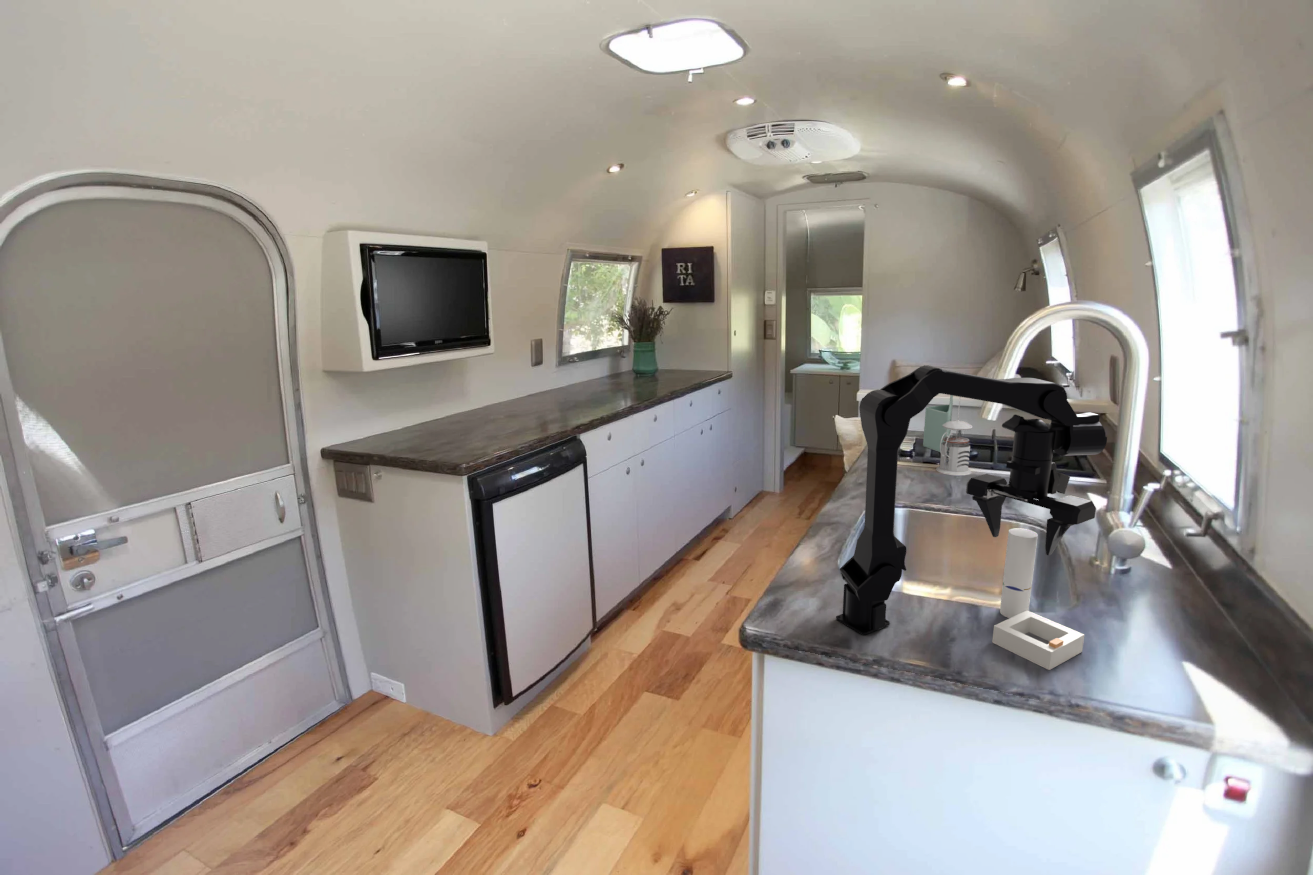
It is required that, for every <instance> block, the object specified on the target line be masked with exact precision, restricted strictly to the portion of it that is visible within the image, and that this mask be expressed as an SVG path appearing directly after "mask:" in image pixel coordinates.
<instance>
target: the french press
mask: <svg viewBox="0 0 1313 875" xmlns="http://www.w3.org/2000/svg"><path fill="white" fill-rule="evenodd" d="M960 408H961V397H959V400H958V410H957V419H956V420H951V421H949V422H947V423H945V424H943V427H944V428H946V429H950V430H953V431H956V434H955V436H953V433H951V432H950V435H949V436H947V432H945V433H944V435H945V434H946V436H947V437H944V438H943V436H944V435H943V436H942V439H943V440H944V441H946V442H942V446H941V442H940V452H939V453H940V459H939V460H940V461H939V466H937V467H936V468H935V470H936V471H937V472H938V473H941V474H944V475H950V476H968V475H971V474H972V470H971V469H970V468H969V465H970V462H968V461H970V458H969V457H970V452H971V444H970V439H969V438H967V437H963V436H958V431H968V430H970V431H971V429H973V425H972V424H970V423H969V422H967V421H963V420H959V418H960V417H959V416H960ZM942 439H941V441H942ZM947 447H948V450H947ZM941 448H942V449H941ZM941 450H942V451H941Z"/></svg>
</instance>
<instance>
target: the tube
mask: <svg viewBox="0 0 1313 875" xmlns="http://www.w3.org/2000/svg"><path fill="white" fill-rule="evenodd" d="M1038 537H1039V536H1038V533H1037V532H1036V531H1034V530H1031V529H1028V528H1023V527H1022V528H1020V527H1014V528H1010V529H1008V534H1007V543H1006V552H1005V562H1004V569H1003V570H1004V571H1003V578H1002V581H1003V582H1002V589H1001V590H1002V591H1001V597H1000V605H999V606H1000V608H999V612H1000V615H1002V616H1003V617H1005V618H1007V619H1009V618H1012V617H1014V616H1016V615H1018V614H1020V613H1022V612H1025V611H1027V610H1028V611H1030V601H1031V594H1032V586H1033V579H1034V572H1035V571H1034V569H1035V560H1036V553H1037V547H1038V546H1037V544H1038Z"/></svg>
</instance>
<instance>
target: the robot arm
mask: <svg viewBox="0 0 1313 875" xmlns="http://www.w3.org/2000/svg"><path fill="white" fill-rule="evenodd" d="M939 394H940V395H941V394H942V395H947V396H950V395H953V397H959V398H965V399H970V400H978V401H983V402H989V403H995V404H1000V405H1003V406H1005V407H1008V408H1011V409H1013V410H1017V411H1019V412H1021V413H1025V414H1028V415H1031V416H1033V417H1037V418H1024V417H1023V416H1021V415H1019V414H1013V415H1012V417H1011V418H1009V419H1008V420H1006V421H1005V422H1003V423H1002V425H1001V427H1002V428H1003V429H1006V430H1008V431H1011V432H1014V436H1013V445H1012V453H1011V454H1012V455H1011V460H1008V461H1006V465H1005V466H1006V467H1005V468H1007V469H1010V471H1009V480H1008V482H1007V480H1006V478H1004V477H1001V476H996V475H993V474H989V473H984V474H981V475H977V476H974V477H971V478H969V479H968V480H967V482H966V484H965V486H966V487H965V494H967V495H970V496H971V499H972V501H975V502H976V504H977V505H978V507H979V509H980V511H981V513H982V514H983V517H984V519H985V521H986V524H987V526H988V529H989V531H990V534H991V535H992V537H993V538H997V537H999V534H1000V530H1001V523H1002V512H1003V511H1002V510H1003V504H1004V502H1005V501H1006V498H1009V499H1012V500H1016V501H1020V502H1023V503H1026V504H1030V505H1033V506H1037V507H1040V508H1044V509H1048V510H1049V514H1050V516H1051V517H1050V518H1048V519H1046V531H1045V546H1044V547H1045V555H1046V556H1052V554H1053V553H1054V551H1055V550H1056V548H1057V547H1058V545H1059V543H1060V542H1061V540H1062V539H1063V537H1064V535H1065V534H1066V533H1067V531H1068V530H1069V529H1070V527H1072V526H1075V525H1080V524H1082V523H1085V522H1087V521H1090V520H1092V519H1095V517H1096V512H1097V508H1096V506H1095V504H1094V502H1093V500H1090V499H1086V498H1083V497H1082V498H1081V497H1078V496H1074V495H1071V494H1070V495H1066V496H1063V497H1060V498H1057V497H1056V498H1055V497H1052V496H1049V494H1050V495H1055V494H1057V493H1059V494H1062V495H1064V494H1066V491H1067V489H1068V485H1069V481H1070V478H1071V475H1067V474H1064V473H1062V472H1058V471H1057V463H1056V462H1054V461H1053V457H1054V456H1053V455H1054V453H1055V454H1057V455H1059V456H1089V455H1099V454H1101V453H1102V452H1103V451H1104V449H1105V448H1106V446H1107V441H1108V436H1107V435H1106V431H1105V428H1104V426H1103V424H1102V423H1101V422H1100V418H1101V416H1100V415H1099V414H1097V413H1094V412H1082V413H1079V414H1077V413H1076V412H1075V410H1074V409H1073V407H1072V406H1071V404H1070V402H1069V401H1068V394H1067V391H1066V389H1065V387H1064V386H1063V385H1062V384H1059V383H1057V382H1053V381H1048V380H1043V379H1039V378H1034V377H1011V378H1001V379H1000V378H994V377H989V376H981V375H977V374H970V373H964V372H958V371H953V370H950V369H949V370H948V369H942V368H940V367H937V366H932V365H921V366H919V367H918V368H916V369H915V370H913V371H912V372H910V373H909V374H907V375H905V376H902V377H900V378H898V379H895V380H893V381H892V382H891V381H890V382H889V383H887V384H886V385H885V386H883V387H882V388H880V389H875V390H872V391H869V392H868V393H866V395H865V396H863V397H862V398H861V400H860V403H859V408H858V409H859V417H860V423H861V428H862V431H863V435H864V438H865V442H866V445H867V460H866V463H867V464H866V482H865V483H866V484H865V485H866V486H865V507H864V508H865V510H864V527H863V530H862V532H860V534H859V537H858V538H857V540H856V543H855V549H854V554H853V556H851V558H849V559H848V560H847V561H846V562H845V563H843V565H841V567H840V568H839V573H840V575H841V578H842V580H843V581H844V582H845V583H844V584H843V596H842V597H843V598H842V613H841V614H838V615H836V616H835V620H836V621H838V622H840V623H842V625H843V624H844V625H845V626H847V627H849V628H850V629H852V630H853V631H855V632H857V633H858V634H860V635H862V636H864V635H865V636H866V635H869V634H871V633H873V632H877V631H879V630H881V629H883V628H885V627H888V626H890V624H891V623H890V622H891V621H890V620H887V619H886V616H887V615H886V614H887V604H886V603H885V602H886V601H887V600H889V598H890V596H891V594H892V591H893V589H894V587H895V584H896V583H897V582H900V580H901V579H902V575H903V571H904V572H905V571H907V568H906V565H905V564H906V563H905V559H906V554H907V546H906V545H905V544H904V543H903V542H902V541H901V540H900V539H898V538H897V537H896V536H895V533H894V532H895V531H894V530H895V519H896V518H895V514H896V500H897V499H896V496H897V479H898V478H897V477H898V460H899V458H898V457H899V451H900V447H901V445H902V444H903V442H904V441H905V439H906V437H907V435H908V431H909V427H910V423H911V419H912V418H914V417H916V416H917V415H918V414H919V413H921V412H922V411H924V410H925V409H926V407H928V405H929V404H930V402H931V401H932V400H933V399H934V398H935V397H937V396H938V395H939ZM1042 419H1043V420H1049V421H1050V422H1049V423H1045V421H1043V420H1042Z"/></svg>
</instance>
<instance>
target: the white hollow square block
mask: <svg viewBox="0 0 1313 875" xmlns="http://www.w3.org/2000/svg"><path fill="white" fill-rule="evenodd" d="M1084 641H1085V634H1084V633H1082V632H1079V631H1077V630H1075V629H1072V628H1070V627H1067V626H1065V625H1063V624H1060V623H1058V622H1056V621H1053V620H1052V619H1048V618H1046V617H1044V616H1041V615H1039V614H1037V613H1034V612H1032V611H1030V610H1029V611H1028V610H1027V611H1025V612H1022V613H1020V614H1018V615H1016V616H1014V617H1012V618H1007V619H1005V620H1002V621H1001V622H999V623H997V624H994V625H993V632H992V642H991V643H992V644H995V645H996V646H999V647H1000V648H1002V649H1004V650H1006V651H1009V652H1011V653H1013V654H1015V655H1017V656H1019V657H1021V658H1023V659H1024V660H1028V661H1029V662H1032V663H1033V664H1036V665H1038V666H1040V667H1042V668H1044V669H1046V670H1047V671H1051V670H1052V669H1054V668H1056V667H1057V666H1060V665H1062V664H1063V663H1065V662H1066V661H1068V660H1070V659H1072V658H1074V657H1075V656H1077V655H1080V653H1083V649H1084V648H1083V647H1084Z"/></svg>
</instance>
